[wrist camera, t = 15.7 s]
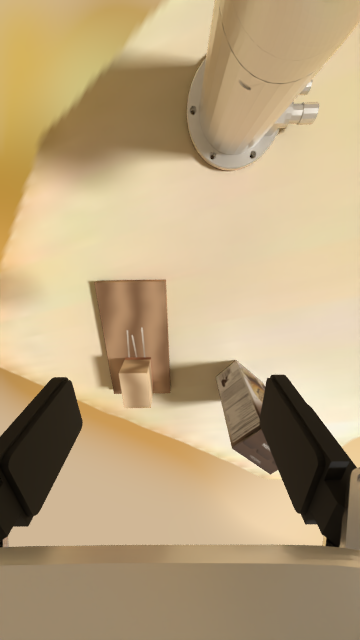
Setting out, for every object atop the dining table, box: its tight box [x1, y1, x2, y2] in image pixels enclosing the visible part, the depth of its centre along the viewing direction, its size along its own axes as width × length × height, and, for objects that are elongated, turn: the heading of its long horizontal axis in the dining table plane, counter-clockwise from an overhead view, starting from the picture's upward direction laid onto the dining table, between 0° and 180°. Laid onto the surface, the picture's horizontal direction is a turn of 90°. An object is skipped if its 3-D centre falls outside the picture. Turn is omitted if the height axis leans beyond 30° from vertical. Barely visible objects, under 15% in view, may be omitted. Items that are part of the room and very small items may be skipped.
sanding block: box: [119, 357, 154, 408], centre depth 40 cm, size 5×8×5 cm, turn 1°
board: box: [95, 280, 170, 394], centre depth 40 cm, size 12×24×2 cm, turn 1°
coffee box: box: [216, 360, 278, 474], centre depth 37 cm, size 9×6×16 cm
